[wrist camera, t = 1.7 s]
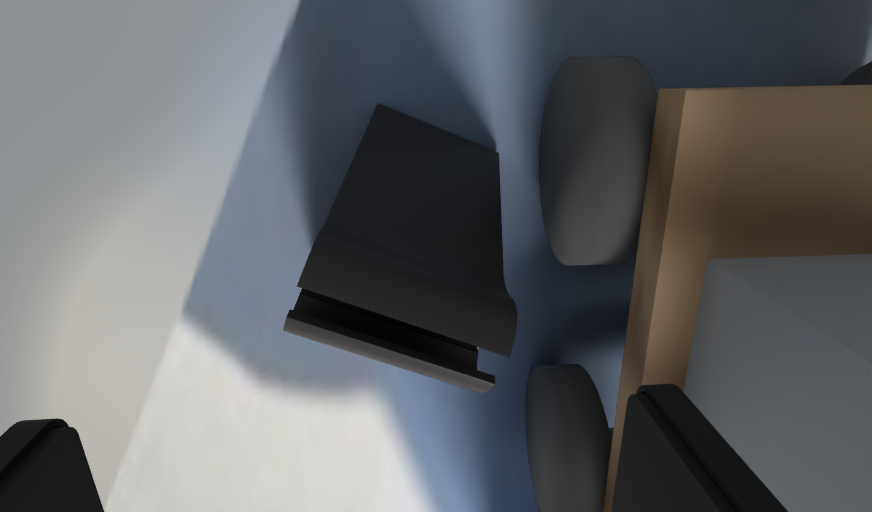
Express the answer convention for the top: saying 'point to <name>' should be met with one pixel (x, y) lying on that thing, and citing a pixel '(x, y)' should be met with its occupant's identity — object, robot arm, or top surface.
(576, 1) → the top surface
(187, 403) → the top surface
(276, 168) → the top surface
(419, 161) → the phone stand
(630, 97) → the trolley
